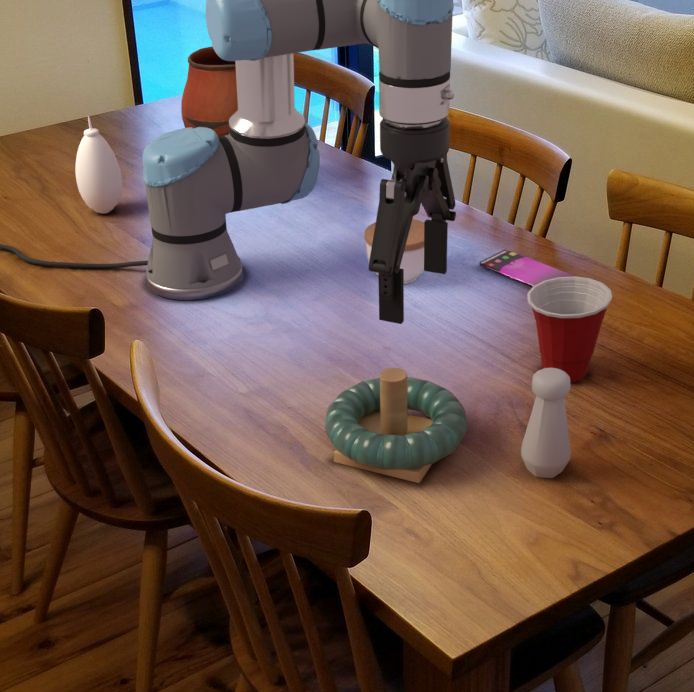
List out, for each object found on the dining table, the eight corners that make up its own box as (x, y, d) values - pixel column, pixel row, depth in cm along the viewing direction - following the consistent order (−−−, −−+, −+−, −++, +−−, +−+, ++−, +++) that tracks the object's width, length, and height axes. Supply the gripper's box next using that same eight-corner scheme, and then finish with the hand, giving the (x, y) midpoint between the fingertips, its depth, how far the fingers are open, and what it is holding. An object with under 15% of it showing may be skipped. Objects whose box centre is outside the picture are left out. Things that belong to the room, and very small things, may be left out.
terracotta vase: (248, 212, 195) (236, 74, 182) (168, 193, 204) (151, 60, 191) (308, 178, 208) (301, 48, 195) (230, 162, 217) (219, 36, 204)
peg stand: (334, 462, 129) (330, 387, 123) (371, 415, 137) (369, 344, 131) (419, 483, 125) (419, 407, 119) (452, 434, 133) (454, 361, 127)
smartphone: (506, 253, 176) (506, 248, 176) (582, 280, 167) (582, 275, 167) (477, 267, 172) (478, 262, 172) (554, 296, 163) (554, 291, 163)
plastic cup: (514, 355, 149) (518, 277, 142) (591, 349, 149) (599, 271, 143) (532, 396, 140) (537, 315, 133) (613, 390, 140) (623, 309, 134)
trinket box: (427, 293, 165) (428, 237, 160) (359, 289, 167) (358, 233, 162) (437, 263, 174) (437, 209, 169) (372, 260, 176) (371, 206, 171)
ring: (302, 456, 127) (300, 428, 125) (362, 386, 140) (361, 360, 138) (435, 490, 121) (435, 461, 119) (485, 414, 134) (486, 387, 132)
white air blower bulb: (73, 214, 197) (56, 118, 187) (105, 200, 202) (89, 106, 192) (103, 223, 193) (87, 125, 183) (134, 208, 198) (120, 112, 188)
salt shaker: (533, 448, 130) (540, 355, 123) (577, 463, 127) (587, 369, 120) (511, 472, 126) (516, 378, 119) (555, 488, 123) (564, 392, 116)
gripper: (401, 160, 104) (402, 350, 115) (486, 88, 123) (479, 257, 134) (332, 151, 107) (339, 337, 118) (425, 82, 126) (424, 248, 137)
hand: (414, 295), depth 126 cm, fingers open, 13 cm apart
